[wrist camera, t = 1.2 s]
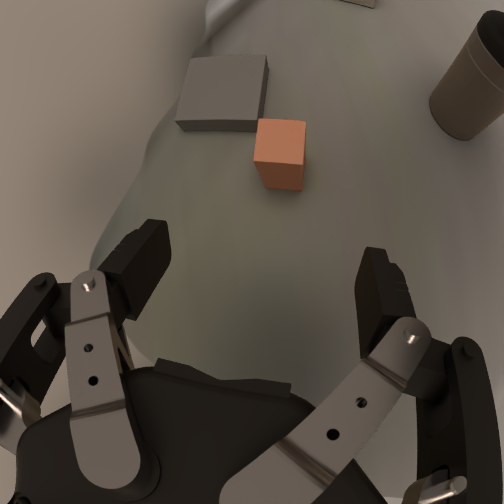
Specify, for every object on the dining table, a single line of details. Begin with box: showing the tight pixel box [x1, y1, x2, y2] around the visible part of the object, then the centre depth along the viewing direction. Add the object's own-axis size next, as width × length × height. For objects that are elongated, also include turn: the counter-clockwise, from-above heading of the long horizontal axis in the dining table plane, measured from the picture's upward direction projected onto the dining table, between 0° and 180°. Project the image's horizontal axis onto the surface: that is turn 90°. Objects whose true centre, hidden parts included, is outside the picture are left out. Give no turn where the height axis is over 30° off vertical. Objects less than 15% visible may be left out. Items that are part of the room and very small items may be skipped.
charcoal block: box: [174, 55, 269, 132], centre depth 37 cm, size 11×11×4 cm
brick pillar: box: [253, 118, 306, 191], centre depth 31 cm, size 5×5×10 cm
